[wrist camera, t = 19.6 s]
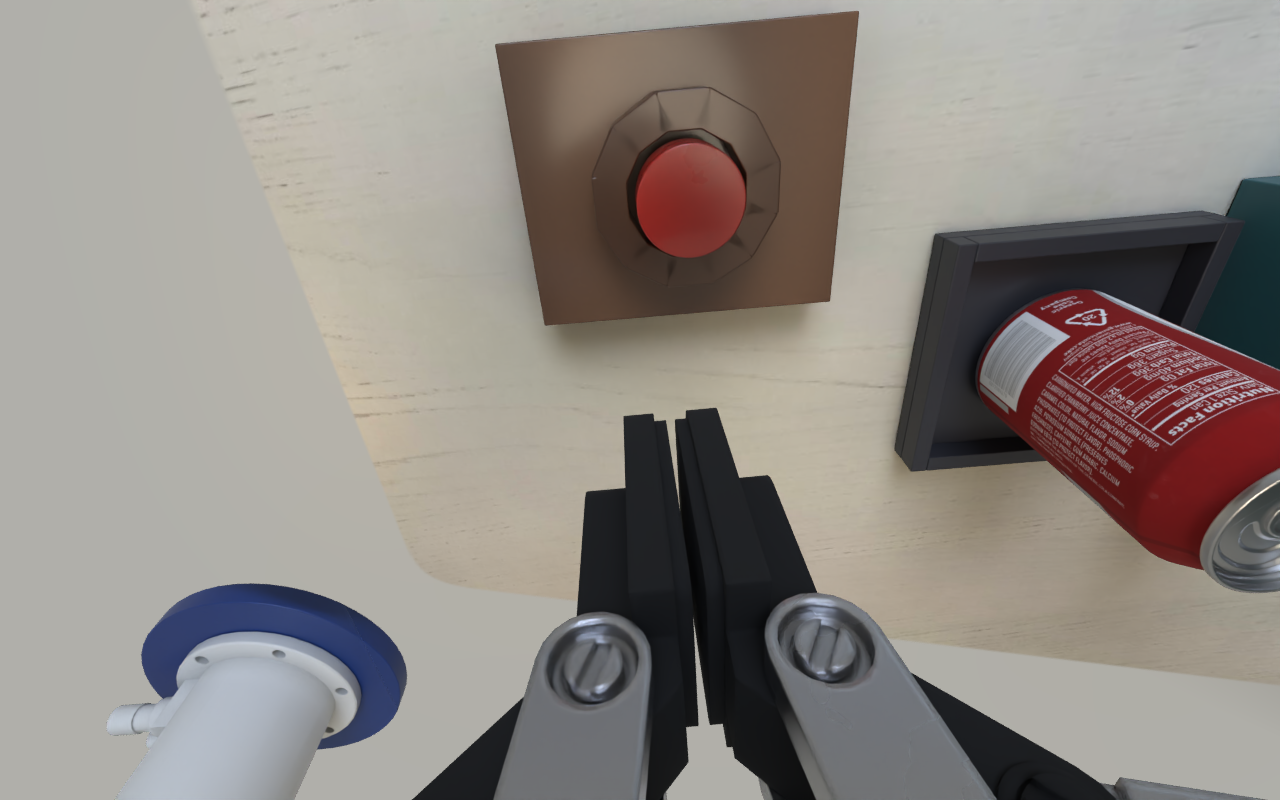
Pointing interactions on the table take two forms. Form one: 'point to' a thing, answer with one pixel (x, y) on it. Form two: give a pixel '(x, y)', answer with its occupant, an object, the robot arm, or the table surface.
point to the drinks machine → (1250, 278)
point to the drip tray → (1019, 273)
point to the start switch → (669, 110)
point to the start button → (689, 198)
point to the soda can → (1148, 428)
